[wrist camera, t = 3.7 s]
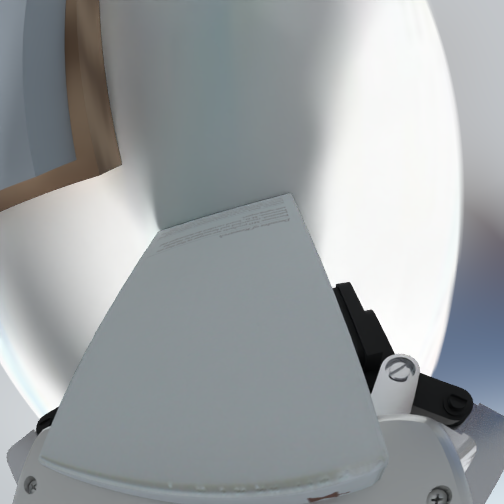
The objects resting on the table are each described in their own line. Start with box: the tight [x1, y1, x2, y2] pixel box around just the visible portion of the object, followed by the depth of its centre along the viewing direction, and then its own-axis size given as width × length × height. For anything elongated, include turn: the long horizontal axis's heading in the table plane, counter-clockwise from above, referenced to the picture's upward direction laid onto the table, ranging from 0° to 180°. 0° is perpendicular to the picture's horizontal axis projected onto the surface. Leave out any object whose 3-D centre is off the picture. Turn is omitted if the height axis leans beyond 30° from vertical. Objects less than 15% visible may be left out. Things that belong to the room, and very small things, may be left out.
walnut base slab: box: [0, 0, 122, 212], centre depth 10 cm, size 12×12×3 cm
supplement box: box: [38, 193, 389, 504], centre depth 10 cm, size 7×7×13 cm
